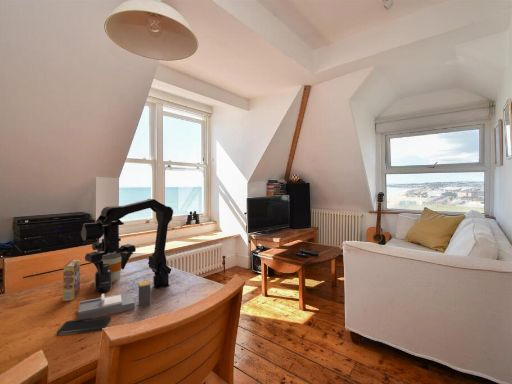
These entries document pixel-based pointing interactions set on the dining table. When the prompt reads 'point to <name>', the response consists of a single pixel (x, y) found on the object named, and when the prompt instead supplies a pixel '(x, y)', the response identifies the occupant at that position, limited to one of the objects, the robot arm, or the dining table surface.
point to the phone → (84, 325)
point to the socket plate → (104, 307)
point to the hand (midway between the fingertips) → (112, 272)
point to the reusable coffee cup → (113, 264)
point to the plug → (144, 293)
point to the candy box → (71, 280)
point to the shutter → (110, 300)
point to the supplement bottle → (103, 280)
